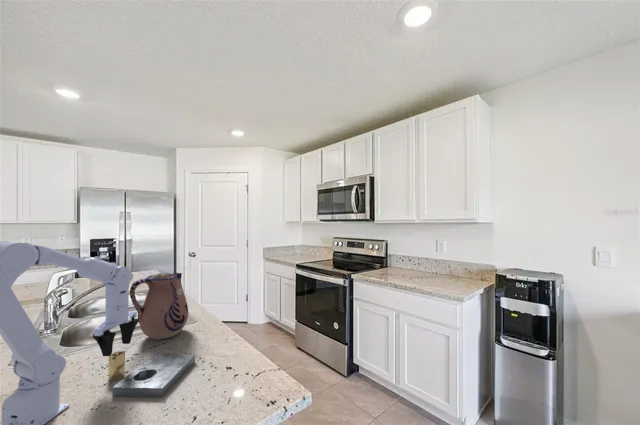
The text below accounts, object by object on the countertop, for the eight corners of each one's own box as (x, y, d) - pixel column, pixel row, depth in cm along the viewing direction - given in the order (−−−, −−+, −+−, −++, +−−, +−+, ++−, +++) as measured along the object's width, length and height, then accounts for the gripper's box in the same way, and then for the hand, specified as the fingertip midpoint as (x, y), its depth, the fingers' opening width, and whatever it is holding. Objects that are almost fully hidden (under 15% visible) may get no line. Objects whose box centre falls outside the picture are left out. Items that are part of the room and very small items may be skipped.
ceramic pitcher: (197, 331, 117) (197, 273, 117) (144, 353, 99) (145, 283, 99) (173, 323, 126) (173, 269, 126) (121, 342, 108) (121, 278, 108)
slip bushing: (118, 381, 82) (118, 357, 82) (105, 380, 82) (105, 356, 82) (127, 373, 86) (128, 350, 86) (115, 373, 86) (115, 350, 86)
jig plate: (162, 397, 74) (162, 388, 75) (112, 396, 75) (112, 387, 75) (194, 362, 92) (195, 354, 93) (154, 361, 93) (154, 354, 93)
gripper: (110, 313, 77) (110, 362, 77) (145, 298, 92) (145, 338, 92) (86, 313, 77) (86, 361, 77) (125, 297, 92) (125, 338, 92)
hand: (117, 349), depth 84 cm, fingers open, 7 cm apart
